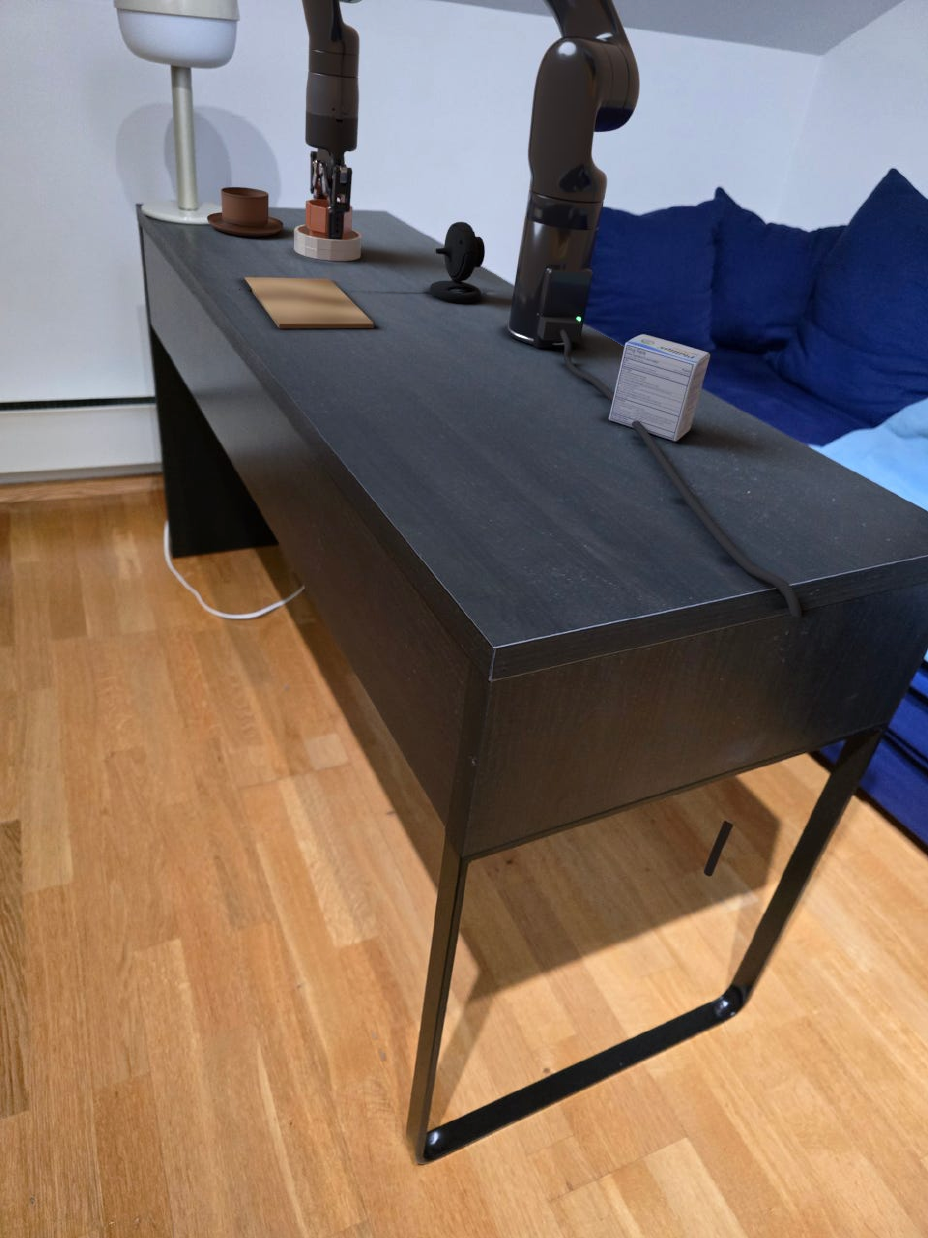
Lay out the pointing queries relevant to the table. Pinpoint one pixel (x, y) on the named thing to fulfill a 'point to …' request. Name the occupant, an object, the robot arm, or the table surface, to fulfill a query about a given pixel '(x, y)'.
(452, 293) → the webcam
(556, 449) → the table surface
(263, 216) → the cup and saucer
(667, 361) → the medicine box
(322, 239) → the cream bowl
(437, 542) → the table surface
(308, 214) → the terracotta plant pot
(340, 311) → the oak mat
